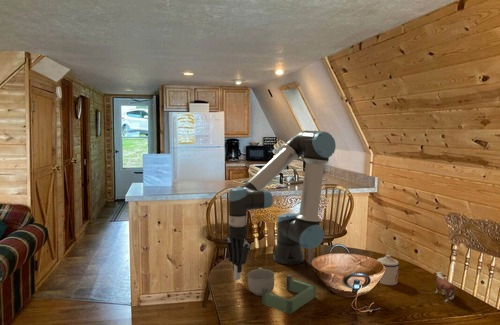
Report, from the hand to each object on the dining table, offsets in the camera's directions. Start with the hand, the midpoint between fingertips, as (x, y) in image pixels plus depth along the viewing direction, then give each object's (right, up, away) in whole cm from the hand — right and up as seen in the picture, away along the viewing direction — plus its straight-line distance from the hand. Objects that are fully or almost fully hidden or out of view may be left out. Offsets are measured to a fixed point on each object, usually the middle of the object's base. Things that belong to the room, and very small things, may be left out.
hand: (237, 279), depth 164 cm
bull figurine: (+82, -4, -11) cm, 83 cm away
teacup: (+10, -3, -8) cm, 13 cm away
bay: (+20, -3, -16) cm, 26 cm away
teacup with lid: (+65, -2, +4) cm, 65 cm away
